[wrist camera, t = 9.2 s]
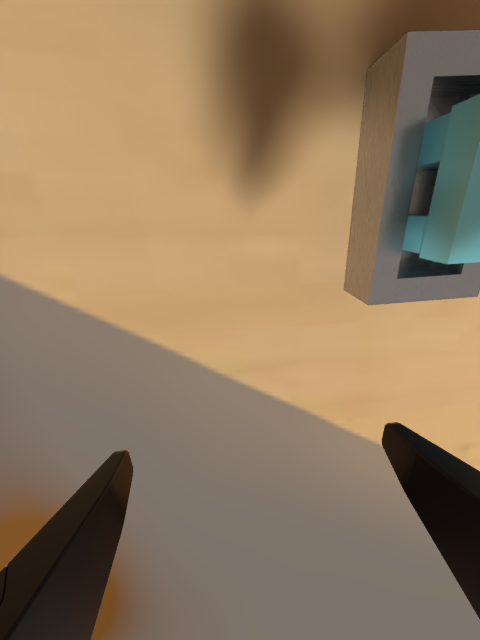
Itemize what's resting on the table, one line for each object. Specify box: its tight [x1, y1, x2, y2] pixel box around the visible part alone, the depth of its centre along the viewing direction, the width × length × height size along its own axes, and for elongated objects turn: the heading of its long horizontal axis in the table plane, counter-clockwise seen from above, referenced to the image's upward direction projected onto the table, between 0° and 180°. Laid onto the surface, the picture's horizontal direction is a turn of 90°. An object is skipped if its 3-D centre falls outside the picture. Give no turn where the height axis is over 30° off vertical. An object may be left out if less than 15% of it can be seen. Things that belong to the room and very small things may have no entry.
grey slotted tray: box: [344, 30, 480, 305], centre depth 16 cm, size 13×7×4 cm, turn 3°
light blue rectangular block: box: [402, 94, 480, 264], centre depth 14 cm, size 7×3×6 cm, turn 2°
